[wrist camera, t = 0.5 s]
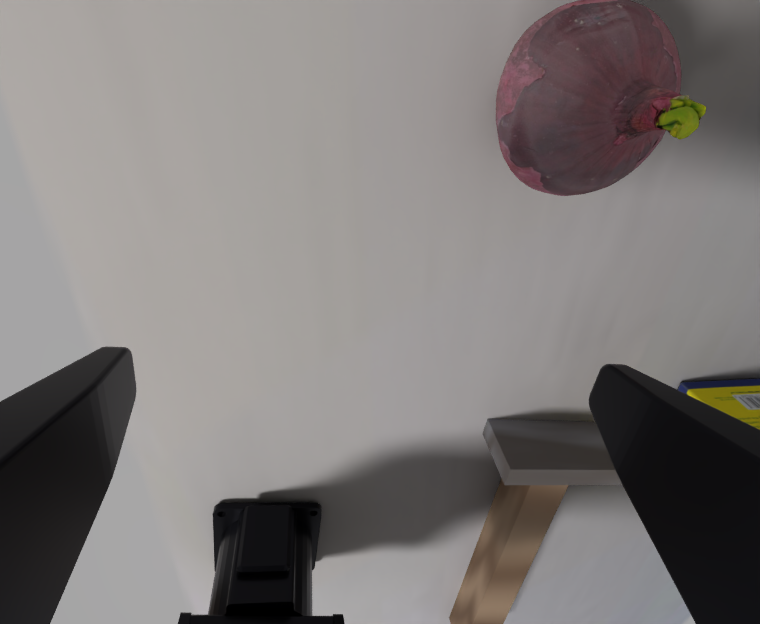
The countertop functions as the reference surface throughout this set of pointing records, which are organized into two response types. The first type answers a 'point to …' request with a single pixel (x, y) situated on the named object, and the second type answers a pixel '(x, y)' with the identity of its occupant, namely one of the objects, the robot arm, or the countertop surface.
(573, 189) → the vegetable
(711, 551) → the robot arm
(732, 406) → the supplement box
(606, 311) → the countertop surface
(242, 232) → the countertop surface
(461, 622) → the bar
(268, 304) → the countertop surface
